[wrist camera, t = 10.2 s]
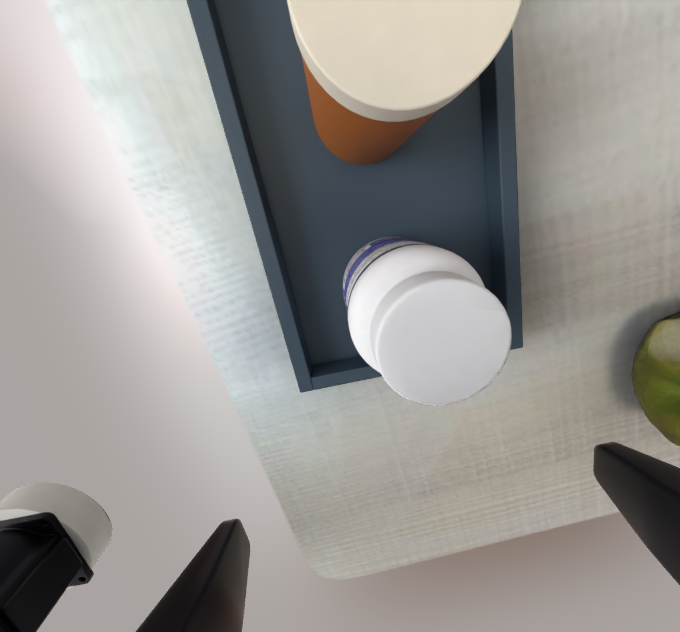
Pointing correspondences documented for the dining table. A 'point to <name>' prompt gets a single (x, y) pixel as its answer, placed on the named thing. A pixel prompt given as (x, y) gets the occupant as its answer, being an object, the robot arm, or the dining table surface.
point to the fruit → (660, 376)
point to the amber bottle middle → (391, 64)
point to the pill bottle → (424, 320)
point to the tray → (355, 183)
